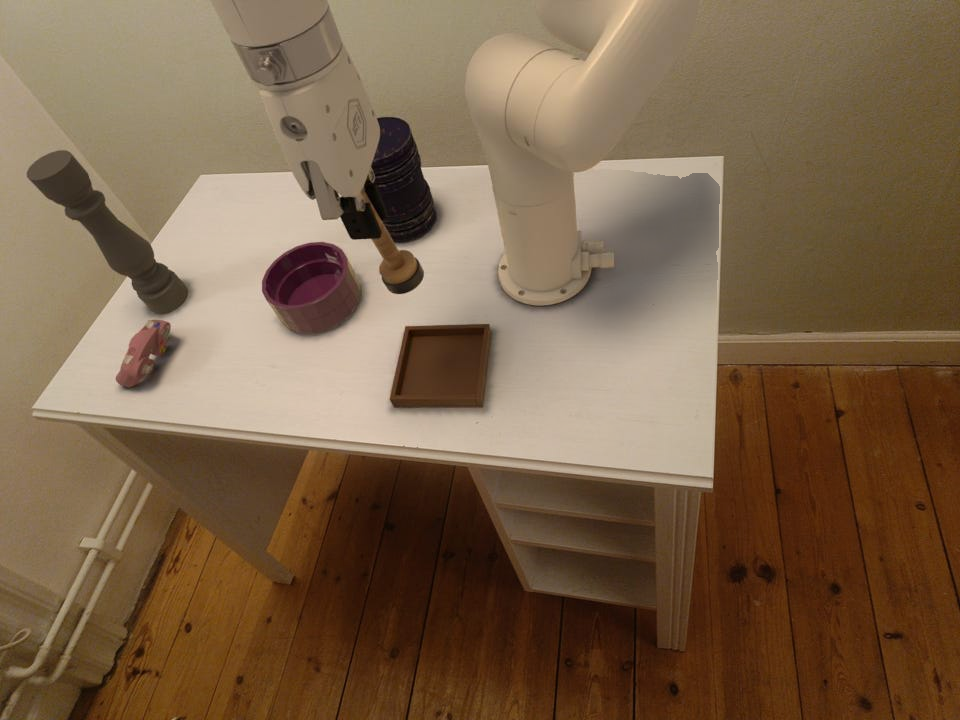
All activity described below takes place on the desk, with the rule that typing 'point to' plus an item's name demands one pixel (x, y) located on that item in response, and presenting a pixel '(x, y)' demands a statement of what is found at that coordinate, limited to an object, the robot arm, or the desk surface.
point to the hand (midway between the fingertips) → (369, 226)
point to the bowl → (311, 287)
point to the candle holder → (107, 230)
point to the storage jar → (402, 182)
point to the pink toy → (143, 352)
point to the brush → (395, 261)
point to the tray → (442, 367)
